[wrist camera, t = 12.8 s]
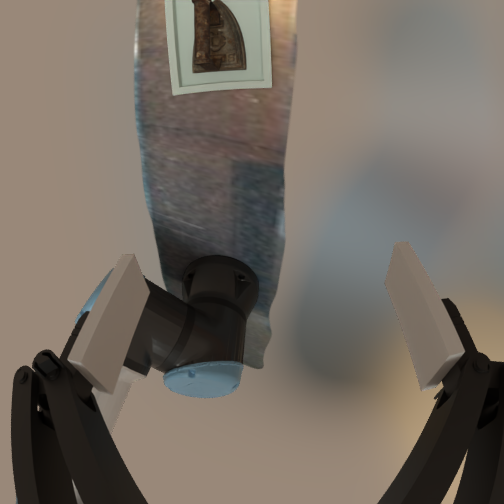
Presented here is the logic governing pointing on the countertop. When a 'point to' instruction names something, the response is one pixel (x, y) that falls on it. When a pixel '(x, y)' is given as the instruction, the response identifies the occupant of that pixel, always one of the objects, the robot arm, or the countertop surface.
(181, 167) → the countertop surface
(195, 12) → the clothes iron
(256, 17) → the iron rest
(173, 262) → the countertop surface
